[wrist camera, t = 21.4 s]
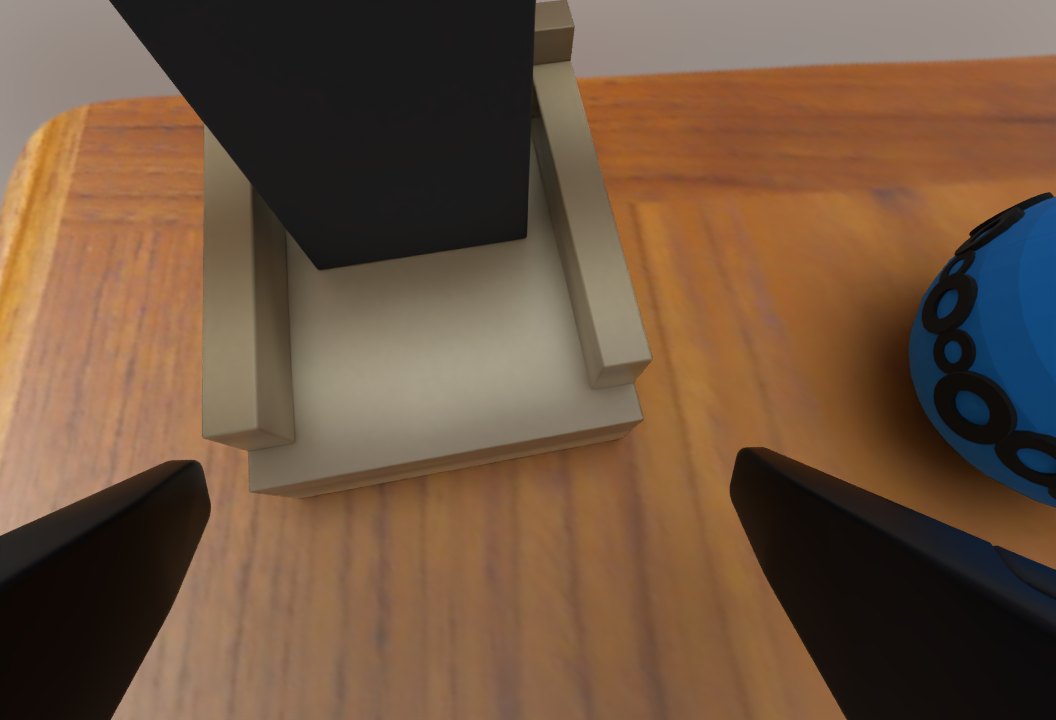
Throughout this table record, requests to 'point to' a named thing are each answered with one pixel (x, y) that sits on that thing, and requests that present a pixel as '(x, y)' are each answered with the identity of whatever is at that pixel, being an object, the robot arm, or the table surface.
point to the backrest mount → (424, 325)
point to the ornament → (995, 349)
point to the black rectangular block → (362, 113)
